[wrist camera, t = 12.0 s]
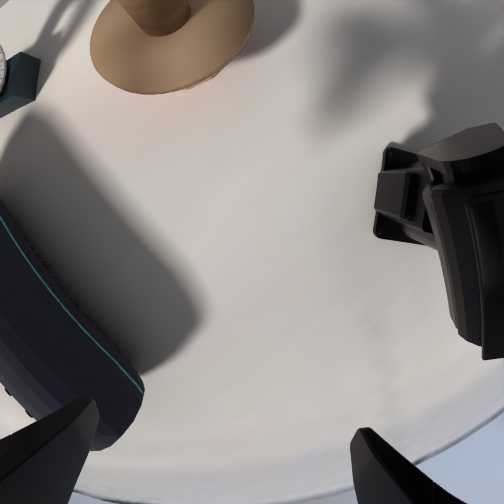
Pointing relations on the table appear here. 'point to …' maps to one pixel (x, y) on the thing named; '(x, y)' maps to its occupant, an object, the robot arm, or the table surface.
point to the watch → (17, 81)
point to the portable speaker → (57, 346)
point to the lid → (167, 41)
